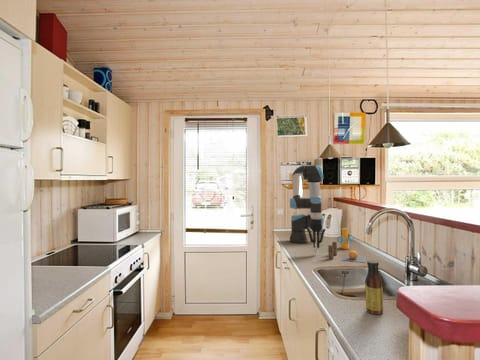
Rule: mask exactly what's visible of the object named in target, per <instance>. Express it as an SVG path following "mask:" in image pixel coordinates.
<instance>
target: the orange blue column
mask: <svg viewBox="0 0 480 360" xmlns="http://www.w3.org/2000/svg"><path fill="white" fill-rule="evenodd" d="M348 230H349V229H348V228H347V227H343V228H341V235H340V236H338V237H337V238H336V242H337V243H340V248H341V249H342V250H348V249H349V250H350V244H352V243H353V241H354V239H353V237H352V236H349V237H348V235H349V233H348Z"/></svg>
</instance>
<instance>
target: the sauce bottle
mask: <svg viewBox="0 0 480 360" xmlns="http://www.w3.org/2000/svg"><path fill="white" fill-rule="evenodd" d="M366 262H367V263H366V264H367V275H366V277H365V281H364V285H365V286H364V288H365V290H364V292H365V308H366V312H368V313H369V314H372V315H382V314H383V312H384V295H383V293H384V292H383V281H382V277H381V275H380V274H379V261H377V260H374V259H373V260H368V261H367V260H366Z"/></svg>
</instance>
